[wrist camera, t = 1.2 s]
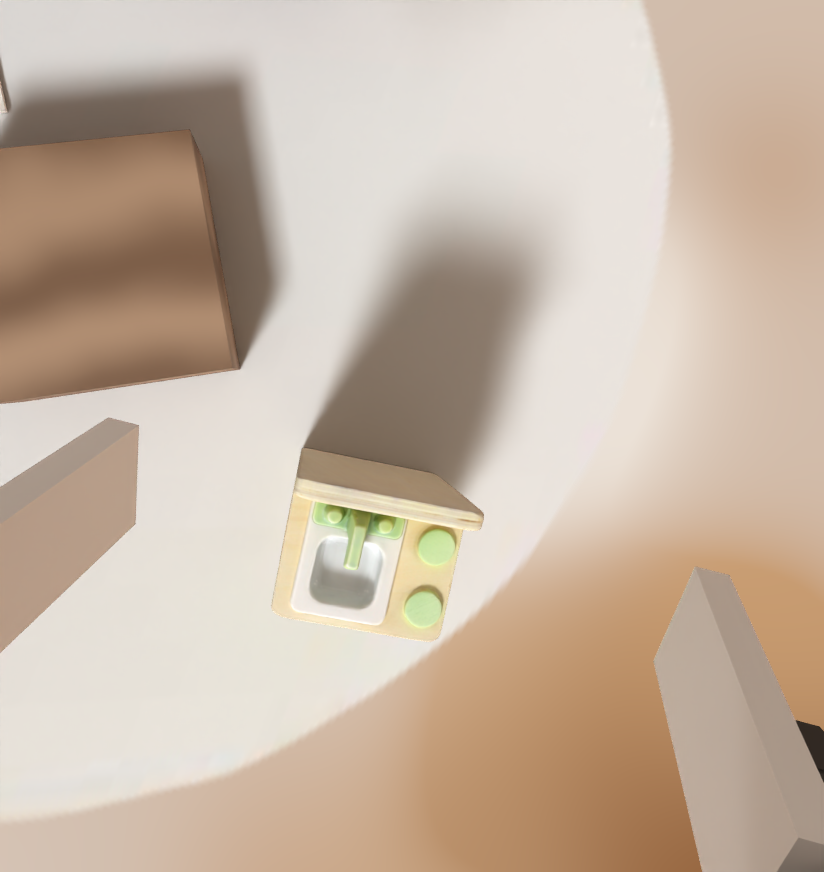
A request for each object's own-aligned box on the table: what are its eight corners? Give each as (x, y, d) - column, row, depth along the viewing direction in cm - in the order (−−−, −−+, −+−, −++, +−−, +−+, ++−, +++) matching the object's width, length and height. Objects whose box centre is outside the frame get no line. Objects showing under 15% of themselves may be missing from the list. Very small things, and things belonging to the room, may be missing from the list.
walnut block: (-21, 184, 38) (-69, 155, 33) (203, 160, 40) (189, 129, 35) (25, 401, 39) (-15, 404, 34) (240, 369, 41) (232, 368, 36)
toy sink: (274, 565, 42) (262, 648, 29) (298, 445, 42) (297, 476, 29) (412, 587, 43) (458, 676, 30) (436, 472, 43) (493, 512, 30)
